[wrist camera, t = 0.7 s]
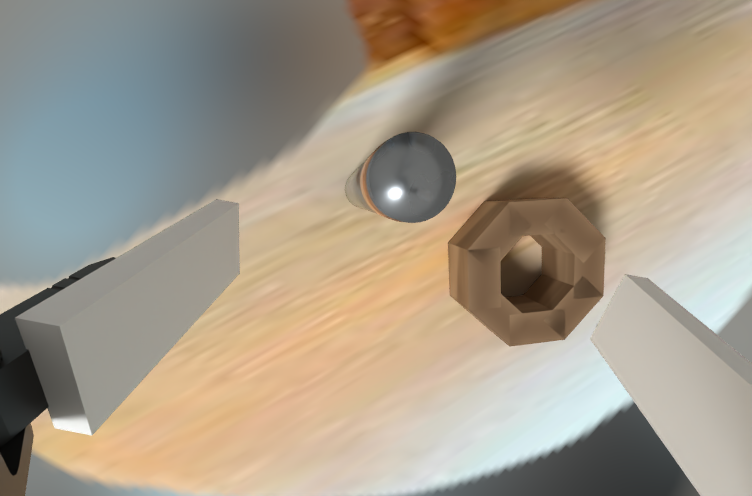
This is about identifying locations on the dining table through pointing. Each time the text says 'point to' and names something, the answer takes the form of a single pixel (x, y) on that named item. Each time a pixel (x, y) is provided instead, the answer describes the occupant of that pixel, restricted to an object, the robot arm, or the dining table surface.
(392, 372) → the dining table surface
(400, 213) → the copper-banded metal rod
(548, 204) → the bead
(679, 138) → the dining table surface
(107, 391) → the robot arm
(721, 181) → the dining table surface
